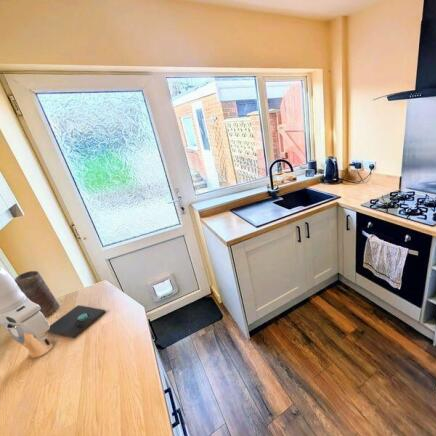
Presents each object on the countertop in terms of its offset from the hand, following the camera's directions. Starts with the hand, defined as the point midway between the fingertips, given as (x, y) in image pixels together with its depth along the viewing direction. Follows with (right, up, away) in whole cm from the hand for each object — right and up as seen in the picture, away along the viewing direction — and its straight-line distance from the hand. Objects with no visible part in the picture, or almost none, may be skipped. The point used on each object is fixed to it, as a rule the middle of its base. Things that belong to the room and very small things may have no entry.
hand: (34, 337), depth 88 cm
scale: (+3, 0, +14) cm, 14 cm away
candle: (-15, +1, +22) cm, 27 cm away
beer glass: (0, -6, +3) cm, 7 cm away
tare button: (+8, +2, +11) cm, 14 cm away
